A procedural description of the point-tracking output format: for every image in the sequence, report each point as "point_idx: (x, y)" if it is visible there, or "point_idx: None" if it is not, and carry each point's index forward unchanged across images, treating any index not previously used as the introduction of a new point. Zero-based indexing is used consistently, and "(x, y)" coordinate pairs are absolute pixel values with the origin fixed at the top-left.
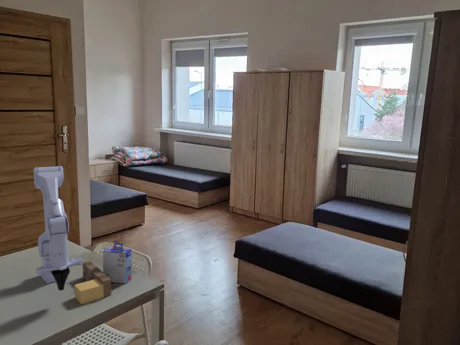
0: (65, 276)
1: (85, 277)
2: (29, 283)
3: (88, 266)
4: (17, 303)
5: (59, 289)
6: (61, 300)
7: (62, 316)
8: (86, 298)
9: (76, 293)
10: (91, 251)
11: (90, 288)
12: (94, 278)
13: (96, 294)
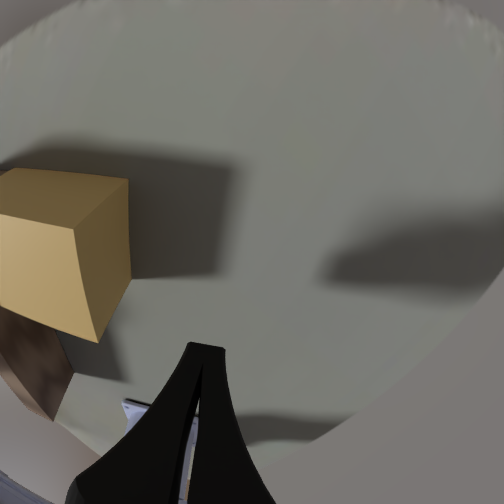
0: (138, 461)
1: (63, 364)
2: (242, 436)
3: (27, 395)
4: (356, 384)
5: (224, 358)
6: (206, 303)
7: (311, 118)
8: (77, 186)
9: (113, 280)
10: (54, 419)
11: (9, 216)
12: (6, 317)
13: (21, 183)
